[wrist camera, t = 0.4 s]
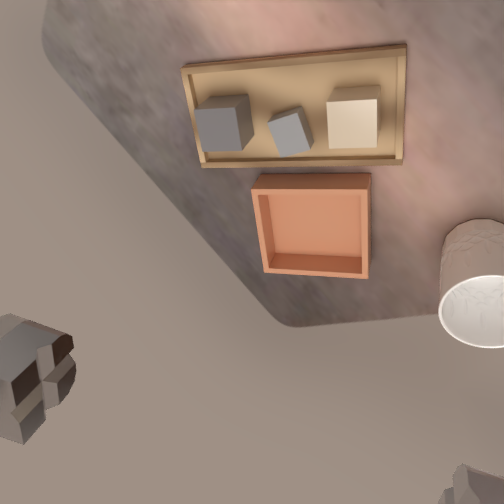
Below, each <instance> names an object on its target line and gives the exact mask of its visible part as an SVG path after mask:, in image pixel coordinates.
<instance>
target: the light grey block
mask: <svg viewBox="0 0 504 504" xmlns="http://www.w3.org/2000/svg"><path fill="white" fill-rule="evenodd" d="M267 124H268V127H269V129H270V132H271V134H272V137H273V139H274V142H275V144H276V147H277V149H278V152H279V155H280V157H281V158H283V157H287V156H290V155H294V154H297V153H301V152H304V151H308V150H310V149H311V147H312V145H313V143H314V139H313V136H312V133H311V131H310V128H309V125H308V122H307V119H306V116H305V114H304V111H303V108H302V106H300V107H297V108H294V109H291V110H288V111H285V112H282V113H279V114H276V115H273V116H272V117H271V118H270V120H269V121H268V122H267Z"/></svg>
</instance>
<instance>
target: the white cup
mask: <svg viewBox="0 0 504 504" xmlns="http://www.w3.org/2000/svg"><path fill="white" fill-rule="evenodd" d="M438 313H439V319H440V321H441V324H442V325H443V327H444V329H445V330H446V331H447V332H448V333H449V334H450V335H451V336H453V337H454V338H456V339H457V340H459V341H461V342H463V343H466V344H469V345H472V346H476V347H483V348H501V347H504V224H502V223H499V222H497V221H494V220H491V219H473V220H470V221H467V222H465V223H462V224H460V225H457V226H456V227H455V228H454V229H453V230H452V231H451V232H450V233H449V234H448V235H447V236H446V238H445V241H444V244H443V247H442V259H441V266H440V283H439V310H438Z"/></svg>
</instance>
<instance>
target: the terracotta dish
mask: <svg viewBox="0 0 504 504" xmlns="http://www.w3.org/2000/svg"><path fill="white" fill-rule="evenodd" d="M251 192H252V198H253V205H254V211H255V217H256V224H257V230H258V236H259V242H260V249H261V255H262V261H263V268H264V272H266V273H282V274H297V275H313V276H329V277H345V278H361V279H368V277H369V270H370V264H371V173H335V174H261V175H260V176H259V178H258V179H257V181H256V182H255V184H254V185H253V187H252V188H251Z"/></svg>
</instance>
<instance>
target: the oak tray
mask: <svg viewBox="0 0 504 504" xmlns="http://www.w3.org/2000/svg"><path fill="white" fill-rule="evenodd" d="M406 53H407V44H404V45H393V46H382V47H371V48H361V49H350V50H339V51H328V52H317V53H307V54H296V55H285V56H274V57H264V58H253V59H242V60H231V61H220V62H210V63H199V64H188V65H185V66H183V67H181V68H180V70H181V75H182V79H183V84H184V88H185V93H186V98H187V102H188V107H189V111H190V116H191V121H192V125H193V130H194V135H195V139H196V144H197V148H198V153H199V158H200V162H201V167H202V168H234V167H309V166H384V165H402V162H403V138H404V110H405V82H406ZM377 85H381V117H380V135H379V139H378V144H377V147H373V148H334V149H329V140H328V122H327V104H326V102H327V100H328V98H329V96H330V95H331V93H332V91H333V89H334V88H347V87H362V86H377ZM242 94H249V101H250V108H251V115H252V121H253V128H254V136H253V138H252V139H251V140H250V141H249V143H248V144H247V145H246V146H245V148H244V149H243V150H242V151H216V152H202V148H201V143H200V138H199V134H198V129H197V124H196V120H195V115H194V109H195V108H196V107H197V106H199V105H200V104H201V103H202V102H204V101H205V100H206V99H207V98H209V97H212V96H227V95H242ZM300 106H302V108H303V111H304V114H305V116H306V119H307V122H308V125H309V128H310V131H311V133H312V136H313V139H314V143H313V145H312V147H311V149H310V150H308V151H304V152H301V153H297V154H294V155H290V156H287V157H283V158H281V157H280V155H279V152H278V149H277V147H276V144H275V142H274V139H273V137H272V134H271V132H270V129H269V127H268V124H267V122H268V121H269V120H270V118H271V117H272V116H273V115H276V114H279V113H282V112H285V111H288V110H291V109H294V108H297V107H300Z"/></svg>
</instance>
